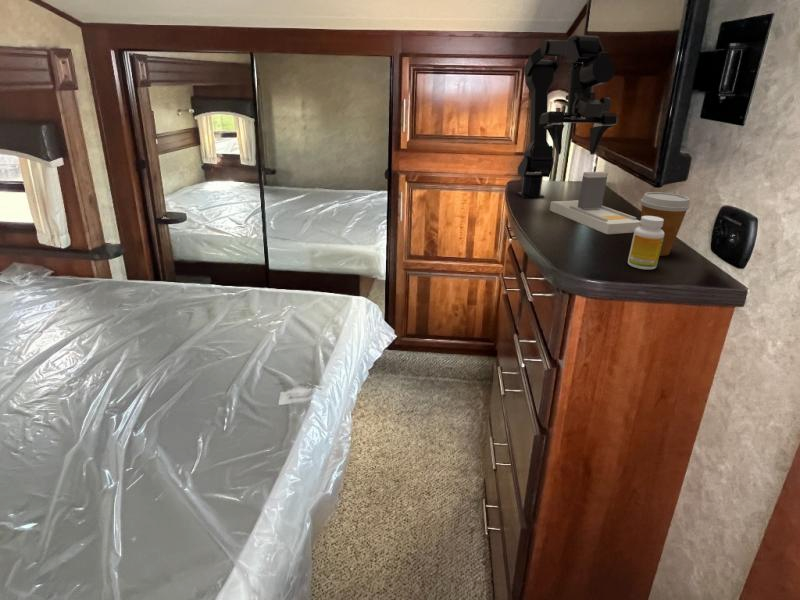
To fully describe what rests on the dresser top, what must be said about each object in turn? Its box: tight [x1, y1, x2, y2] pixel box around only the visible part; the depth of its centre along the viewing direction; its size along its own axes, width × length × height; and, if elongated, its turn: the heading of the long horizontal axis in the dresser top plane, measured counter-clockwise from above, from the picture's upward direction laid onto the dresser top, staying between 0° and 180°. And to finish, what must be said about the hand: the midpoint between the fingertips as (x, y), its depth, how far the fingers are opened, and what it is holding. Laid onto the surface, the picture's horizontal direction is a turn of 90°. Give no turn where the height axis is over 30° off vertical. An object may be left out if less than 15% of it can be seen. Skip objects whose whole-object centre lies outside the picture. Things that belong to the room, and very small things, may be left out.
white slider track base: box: [549, 199, 641, 235], centre depth 135 cm, size 24×10×3 cm, turn 19°
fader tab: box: [578, 171, 609, 209], centre depth 135 cm, size 2×6×9 cm, turn 109°
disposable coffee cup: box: [640, 191, 692, 257], centre depth 110 cm, size 10×10×12 cm
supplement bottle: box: [627, 216, 664, 271], centre depth 102 cm, size 5×5×10 cm
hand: (575, 154), depth 134 cm, fingers open, 9 cm apart
